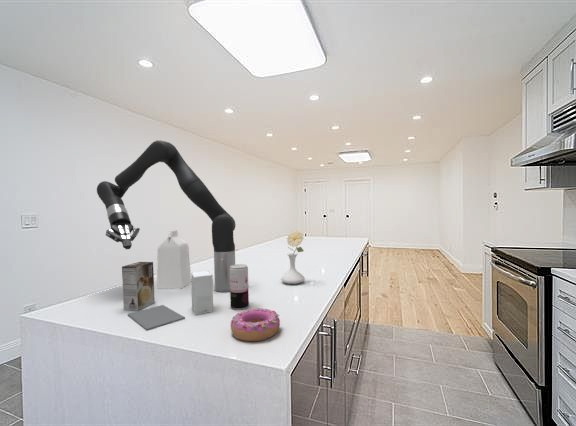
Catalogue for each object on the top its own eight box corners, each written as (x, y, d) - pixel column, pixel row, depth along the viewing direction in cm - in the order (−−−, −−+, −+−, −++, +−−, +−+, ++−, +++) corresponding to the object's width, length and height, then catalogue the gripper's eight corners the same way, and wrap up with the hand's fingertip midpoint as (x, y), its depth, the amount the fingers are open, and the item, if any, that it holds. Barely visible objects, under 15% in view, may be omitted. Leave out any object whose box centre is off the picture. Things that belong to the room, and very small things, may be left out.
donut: (220, 338, 79) (220, 320, 79) (247, 319, 92) (247, 304, 92) (265, 347, 73) (265, 328, 73) (288, 326, 86) (287, 309, 86)
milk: (182, 288, 129) (180, 231, 129) (156, 288, 129) (155, 232, 129) (191, 281, 141) (189, 229, 141) (168, 281, 141) (166, 229, 141)
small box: (213, 311, 99) (212, 274, 99) (194, 315, 96) (193, 277, 96) (209, 304, 107) (208, 270, 106) (191, 307, 104) (190, 272, 103)
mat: (127, 315, 97) (127, 313, 97) (162, 306, 106) (162, 304, 106) (146, 330, 85) (146, 328, 85) (185, 318, 93) (185, 317, 93)
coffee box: (140, 301, 111) (139, 261, 111) (155, 302, 110) (154, 261, 110) (122, 310, 102) (121, 266, 102) (138, 311, 101) (136, 266, 101)
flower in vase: (276, 282, 136) (275, 230, 135) (293, 278, 144) (292, 229, 143) (295, 288, 126) (294, 232, 126) (312, 283, 134) (311, 230, 133)
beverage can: (241, 302, 108) (241, 263, 108) (252, 306, 104) (251, 265, 103) (227, 307, 104) (226, 266, 103) (237, 311, 99) (236, 268, 99)
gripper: (101, 211, 115) (111, 243, 107) (137, 210, 124) (148, 240, 116) (99, 223, 119) (107, 256, 110) (133, 222, 128) (143, 251, 120)
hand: (128, 247), depth 113 cm, fingers closed
